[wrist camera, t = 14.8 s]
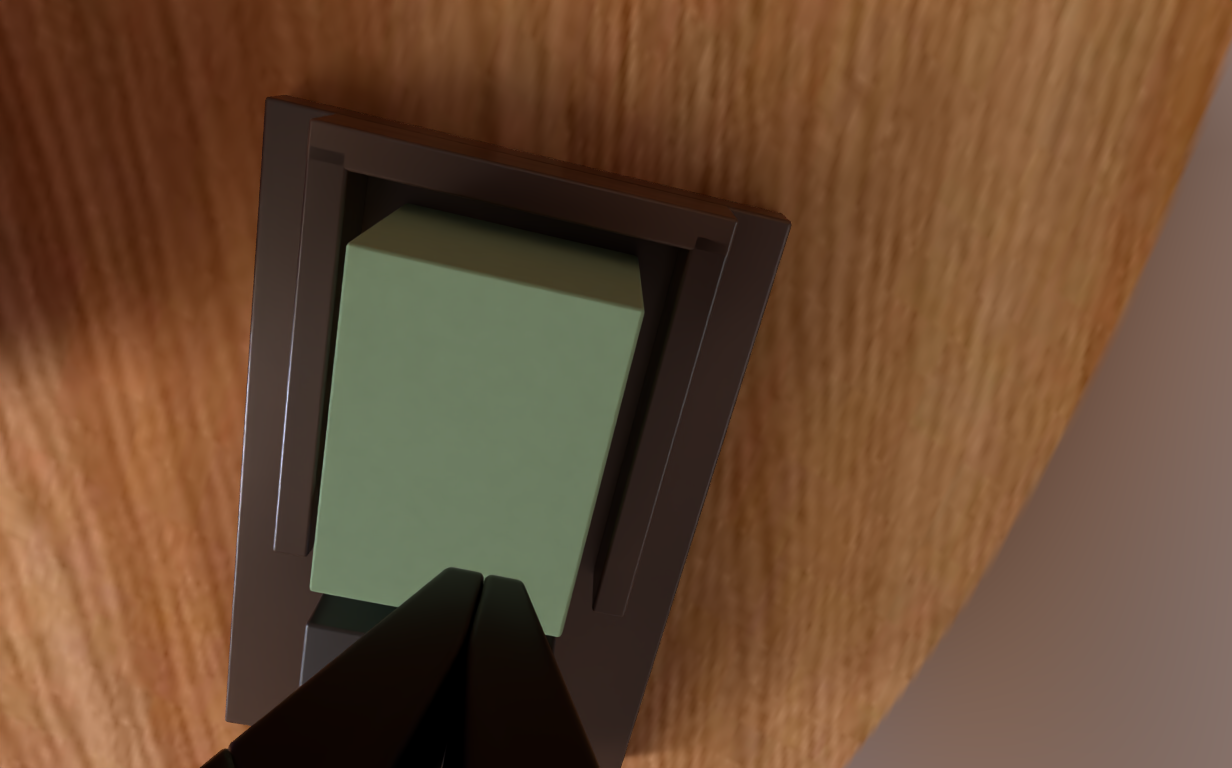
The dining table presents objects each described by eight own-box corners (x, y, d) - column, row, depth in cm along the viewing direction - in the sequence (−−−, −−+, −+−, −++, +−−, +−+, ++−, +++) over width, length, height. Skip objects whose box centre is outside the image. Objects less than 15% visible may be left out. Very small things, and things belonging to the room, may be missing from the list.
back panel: (784, 213, 18) (844, 267, 13) (614, 760, 24) (614, 930, 19) (283, 93, 17) (157, 106, 12) (239, 695, 23) (144, 857, 18)
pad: (638, 255, 17) (645, 309, 13) (571, 529, 20) (561, 639, 16) (405, 201, 17) (345, 242, 13) (367, 489, 19) (307, 592, 15)
